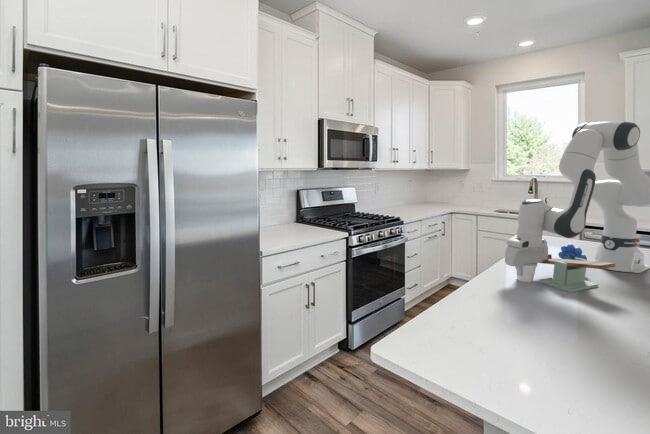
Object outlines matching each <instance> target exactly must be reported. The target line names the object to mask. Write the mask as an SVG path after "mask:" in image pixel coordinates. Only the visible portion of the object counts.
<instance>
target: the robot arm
mask: <svg viewBox="0 0 650 434" xmlns="http://www.w3.org/2000/svg"><path fill="white" fill-rule="evenodd" d="M640 135H641V129H640V127H639V126H638V125H637V124H636V123H634V122H630V121H611V120H606V121H595V122H590V121H589V122H583V123H580V124H579V125H577V126H576V127H575V129H574V130H573V132H572V135H571V139H570V141H569V143H568V144H567V146H566V148H565V150H564V151H563V153H562V156H561V158H560V160H559V162H558V163H559V164H558V170H559V172H560V174H561V175H562V176H563V177H564V178H566V179H567V180H569V181H570V182H571V183H572V184H573V191H572V195H571V198H570V201H569V205H568V207H567V208H566V209H563V208H557V207H553V206H551V205H549V204H547V203H546V202H544V200H543V199H541V198H540V199H539V198H529V199H525V200H523V201H522V202H521V203H520V205H519V208H518V209H519V210H518V215H517V224H518V226H517V229H516V234H514V235H513V236H511V237H509V238H508V239H506V240H505V241H506V242H505V243H506V245H507V246H506V249H505V253H504V263H505V264H506V265H507V266H509V267H515V270H516V276H517V275H519V276H521V275H522V269H521V268H522V265H526V264H533V263H535V264H536V268H537V266H538V264H540V263H539V262H543V260H547V259H548V254H549V247H548V241H547V240H546V238H543V231H544V232H548V233H552V234H555V235H558V236H560V237H564V238H566V239H573V238H576V237H577V236H579V235H580V234H582V232H583V231H584V230H585V228H586V223H587V213H588V211H589V210H588V209H589V206H590V203H591V201H593V202H594V203H595V204H596V205H597V206H598V207H599V209H600V210H601V211H602V215H603V231H602V232H603V233H602V234H601V237H600V242H601V243H600V244H599V245H597V248H596V253H595V256H594V259H591V261H594V262H607V263H615V266H616V267H610V268H605V269H604V270H611V271H616V272H625V273H635V274H641V273H643V272H645V271H647V270H649V269H650V265H648V264H646V263H644V262H645V254H644V253H643V252H642V251H641V250H640V249H639V248H638V247H637V246H638V244H639V243H640V242H641V238H640V237H636V235H637V228H638V221H637V219H636V218H635V217H634V216H633V215H632V214H630V213H627V212H626V210H625V209H624V207H625V206H626V207H637V208H646V207H647V208H648V207H650V177H649V176H648V175H647V174H646V173H645V172H644V171H643V169H642V167H641V163H640V155H639V148H638V147H639V146H638V142H639V140H640V137H641V136H640ZM601 151H603V161H604V169H605V172H606V174H607V175H609V176H610V177H611V178H614V179H602V180H597V179H596V178H597V177H596V176H597V175H596V173H595V172H594V171H595V170H594V169H595V165H596V162H597V161H598V158H599V155H600V152H601ZM623 206H624V207H623Z"/></svg>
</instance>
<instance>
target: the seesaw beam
mask: <svg viewBox="0 0 650 434" xmlns="http://www.w3.org/2000/svg"><path fill="white" fill-rule="evenodd" d="M555 261H560V262H564V263H567V267H571V266H575V267H585V268H586V269H595V270H596V269H598V270H606V269H605V268H610V267H616V266H615V263H607V262H594V261H592V260H587V261H582V260H570V259H561V258H555V257H553V256H552V254H550V253H548V259H547V260H543V262H539V263H538V264H544V265H545V264H546V265H554V264H555Z"/></svg>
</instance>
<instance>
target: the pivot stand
mask: <svg viewBox="0 0 650 434" xmlns="http://www.w3.org/2000/svg"><path fill="white" fill-rule="evenodd" d="M575 260H582V261H588V259H587V260H584V259H580V258H575ZM553 267H554V268H553V274H552V277H547V278H542V279H539V283H542V284H544V285H546V286H550V287H553V288H556V289H559V290H562V291H565V292H567V293H568V292H569V293H574V292H575V293H576V292H579V291H584V290H587V289H595V288H598V287H599V283H595V282H592V281H589V280H586V272H587V268H585V267H575V266H571V267H567V263H564V262H560V261H555V264H553Z"/></svg>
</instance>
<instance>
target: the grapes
mask: <svg viewBox="0 0 650 434" xmlns="http://www.w3.org/2000/svg"><path fill="white" fill-rule="evenodd" d="M560 250H561V251H559V252H558V254H557V255H558V258H559V259H570V260H575V258H580V259H584V260H587V261H588V258H587V256H586V255H585V254H584V253H583V250H582V248H581V247H579V246H577V247H575V245H574V244H571V243H569V244H567V245H562V246H561V247H560Z"/></svg>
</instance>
